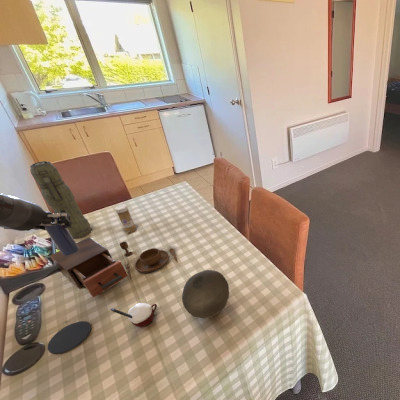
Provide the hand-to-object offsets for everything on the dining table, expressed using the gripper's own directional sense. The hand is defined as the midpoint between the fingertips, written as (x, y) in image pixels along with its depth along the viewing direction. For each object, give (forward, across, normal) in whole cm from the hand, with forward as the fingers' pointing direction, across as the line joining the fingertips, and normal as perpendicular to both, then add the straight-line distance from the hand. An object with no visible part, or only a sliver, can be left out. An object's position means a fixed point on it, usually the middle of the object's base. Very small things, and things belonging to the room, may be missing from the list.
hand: (59, 225), depth 81 cm
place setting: (+28, -14, +12) cm, 34 cm away
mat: (+7, +2, +33) cm, 34 cm away
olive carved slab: (+50, +20, -10) cm, 54 cm away
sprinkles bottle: (+45, -2, -5) cm, 45 cm away
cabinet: (+29, +7, +11) cm, 31 cm away
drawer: (+21, -1, +17) cm, 27 cm away
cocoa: (+6, -18, +34) cm, 39 cm away
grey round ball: (+4, -38, +36) cm, 53 cm away
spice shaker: (+5, 0, +7) cm, 9 cm away
